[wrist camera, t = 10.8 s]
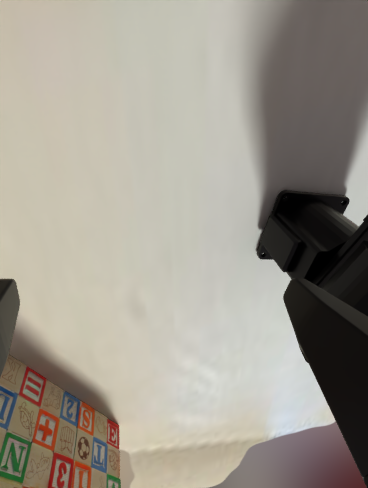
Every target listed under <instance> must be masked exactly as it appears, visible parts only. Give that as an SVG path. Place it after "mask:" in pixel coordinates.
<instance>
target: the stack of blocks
mask: <svg viewBox="0 0 368 488" xmlns="http://www.w3.org/2000/svg"><path fill="white" fill-rule="evenodd" d="M119 464H120V451H119V425H117V424H116V423H114V422H112V421H111V420H109V419H107V417H106V416H104V415H102V414H101V413H99V412H98V411H96V410H94V409H93V408H92V407H90V406H88V405H87V404H86V403H84V402H82V401H80V400H78V399H77V398H75V397H74V396H72V395H70V394H69V393H67V392H66V391H63V390H62V389H61V388H59V387H58V386H56V385H54V384H53V383H51V382H50V381H48V380H47V379H46V378H44V377H43V376H41V375H40V374H38V373H37V372H35V371H34V370H32V369H30V368H29V367H27V366H26V365H24V364H23V363H21V362H20V361H18V360H17V359H15V358H14V357H12V356H10V355H9V354H8V357H7V360H6V364H5V366H4V369H3V372H2V375H1V377H0V488H121V485H120V484H121V482H120V479H119V476H120V465H119Z"/></svg>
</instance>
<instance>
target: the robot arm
mask: <svg viewBox="0 0 368 488" xmlns="http://www.w3.org/2000/svg"><path fill="white" fill-rule="evenodd" d="M285 196H287V197H286V198H285V199H283V198H284V197H285ZM342 201H343V202H342ZM341 202H342V203H341ZM348 204H349V198H348V197H346V196H344V195H333V194H321V193H309V192H298V191H282V192H281V193H280V194H279V195H278V198H277V200H276V203H275V206H274V208H273V211H272V214H271V216H270V217H269V220H268V222H267V225H266V228H265V230H264V233H263V236H262V238H261V243H260V246H259V248H258V251H257V256H258V257H259V258H260V259H273V260H275V262H276V263H277V264H278V266H279V267H280V269H281V270H282V271H283V272H287V274H288V275H289V276H290V278H291V279H292V280H291V281H290V283H289V285H288V287H287V289H286V291H285V293H284V296H283V299H284V303H285V306H286V309H287V311H288V314H289V317H290V320H291V323H292V325H293V328H294V331H295V334H296V337H297V341H298V344H299V347H300V350H301V352H302V354H303V356H304V358H305V360H306V362H308V363H309V365H310V367H311V369H312V371H313V373H314V375H315V378H316V380H317V382H318V384H319V386H320V388H321V390H322V392H323V395H324V397H325V399H326V401H327V403H328V405H329V407H330V410H331V412H332V414H333V416H334V418H335V420H336V422H337V424H338V427H339V429H340V431H341V433H342V435H343V437H344V439H345V441H346V444H347V446H348V448H349V450H350V452H351V454H352V456H353V458H354V461H355V463H356V464H357V467H358V469H359V471H360V473H361V476H362V477H363V480H364V482H365V484H366V487H367V488H368V215H367V216H366V217H365V218H364V220H363V221H364V222H363V223H362V224H361V225H360V226H357V225H356V224H354V223H353V222H352V221H350V220H349V219H348V218H346V217H345V216H344V215H343V213H344V211H345V209H346V208H347V206H348ZM262 253H264V254H262ZM19 306H20V299H19V294H18V290H17V285H16V282H15V280H14V279H0V377H1V375H2V372H3V369H4V366H5V364H6V360H7V357H8V354H9V350H10V346H11V341H12V337H13V333H14V328H15V324H16V320H17V315H18V311H19Z"/></svg>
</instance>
